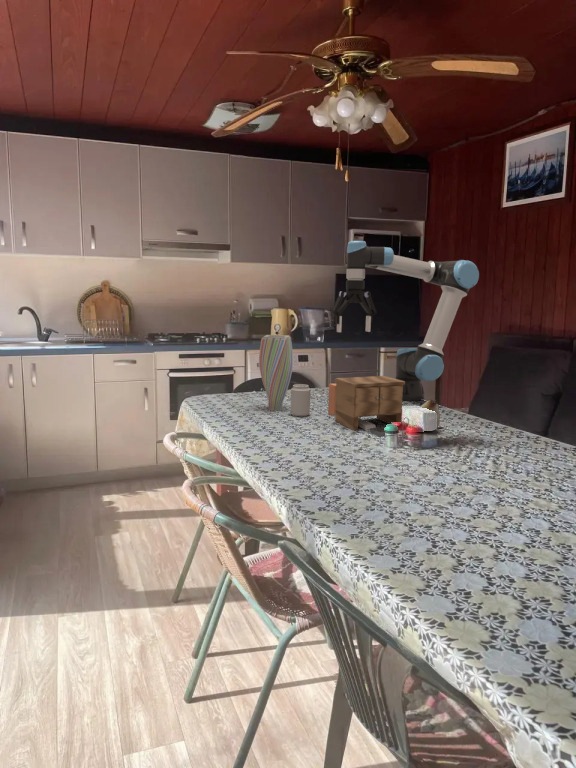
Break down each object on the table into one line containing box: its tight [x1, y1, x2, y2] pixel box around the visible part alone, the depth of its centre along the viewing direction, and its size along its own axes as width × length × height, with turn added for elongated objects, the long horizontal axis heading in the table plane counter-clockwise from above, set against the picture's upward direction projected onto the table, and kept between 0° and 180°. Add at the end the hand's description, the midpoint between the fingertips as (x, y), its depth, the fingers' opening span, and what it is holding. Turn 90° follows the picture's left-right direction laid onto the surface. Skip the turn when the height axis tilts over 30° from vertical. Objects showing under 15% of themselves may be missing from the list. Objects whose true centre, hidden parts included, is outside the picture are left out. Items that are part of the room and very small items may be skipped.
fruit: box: [419, 398, 441, 428], centre depth 207 cm, size 10×9×12 cm
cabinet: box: [334, 375, 405, 431], centre depth 215 cm, size 21×15×16 cm
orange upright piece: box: [327, 382, 377, 431], centre depth 221 cm, size 29×5×12 cm, turn 22°
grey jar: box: [290, 383, 311, 418], centre depth 229 cm, size 8×8×12 cm
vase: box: [258, 334, 294, 411], centre depth 239 cm, size 14×14×30 cm
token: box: [369, 426, 386, 438], centre depth 202 cm, size 6×6×2 cm
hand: (353, 331), depth 243 cm, fingers open, 13 cm apart
